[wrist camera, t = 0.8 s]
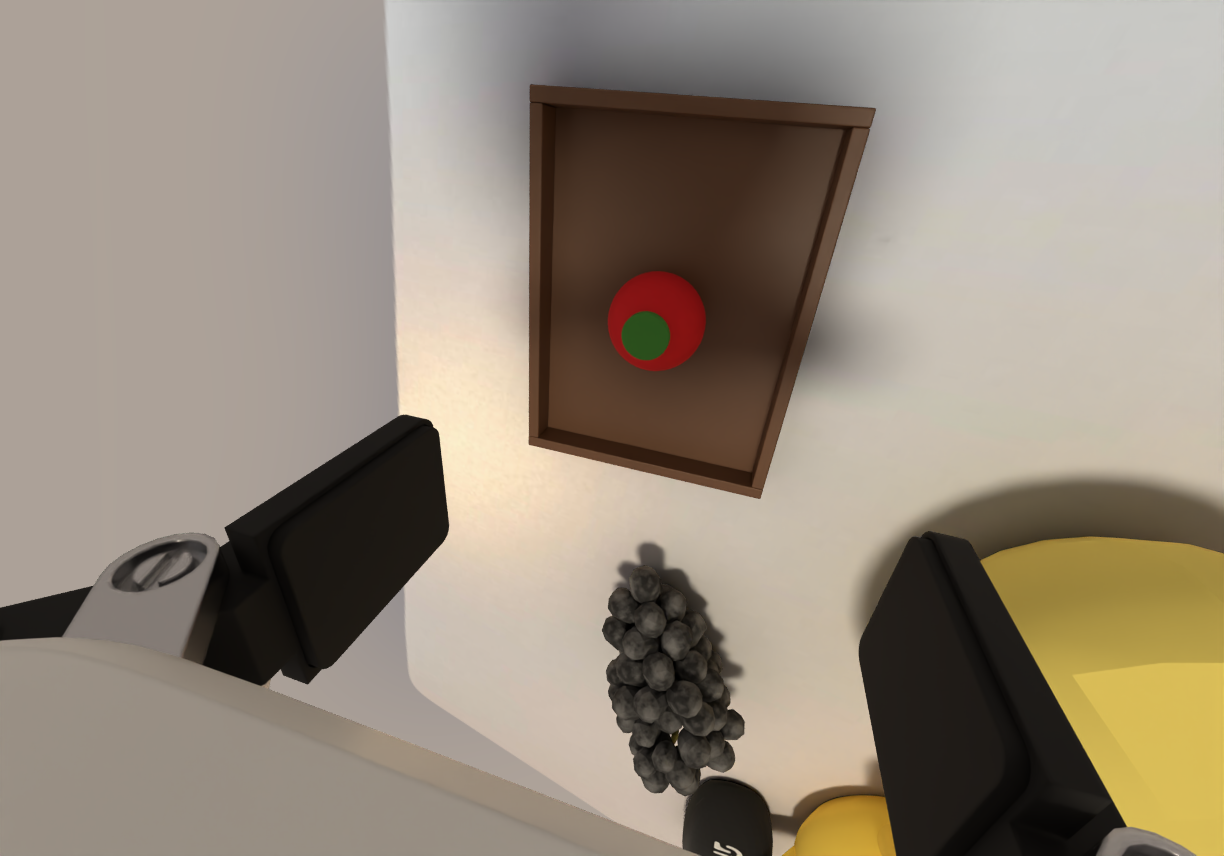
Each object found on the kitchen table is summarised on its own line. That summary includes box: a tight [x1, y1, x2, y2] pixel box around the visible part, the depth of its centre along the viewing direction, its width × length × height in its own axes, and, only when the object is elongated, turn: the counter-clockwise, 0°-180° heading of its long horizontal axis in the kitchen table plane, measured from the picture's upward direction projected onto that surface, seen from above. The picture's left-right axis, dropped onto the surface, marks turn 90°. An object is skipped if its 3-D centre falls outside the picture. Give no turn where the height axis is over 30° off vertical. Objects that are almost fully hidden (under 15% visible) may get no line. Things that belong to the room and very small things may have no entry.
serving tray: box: [529, 84, 876, 499], centre depth 23 cm, size 17×13×2 cm
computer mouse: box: [682, 780, 773, 856], centre depth 41 cm, size 8×12×4 cm, turn 1°
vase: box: [980, 536, 1224, 856], centre depth 18 cm, size 18×18×19 cm
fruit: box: [602, 565, 745, 796], centre depth 31 cm, size 9×8×15 cm
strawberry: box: [608, 271, 706, 371], centre depth 22 cm, size 4×4×5 cm
